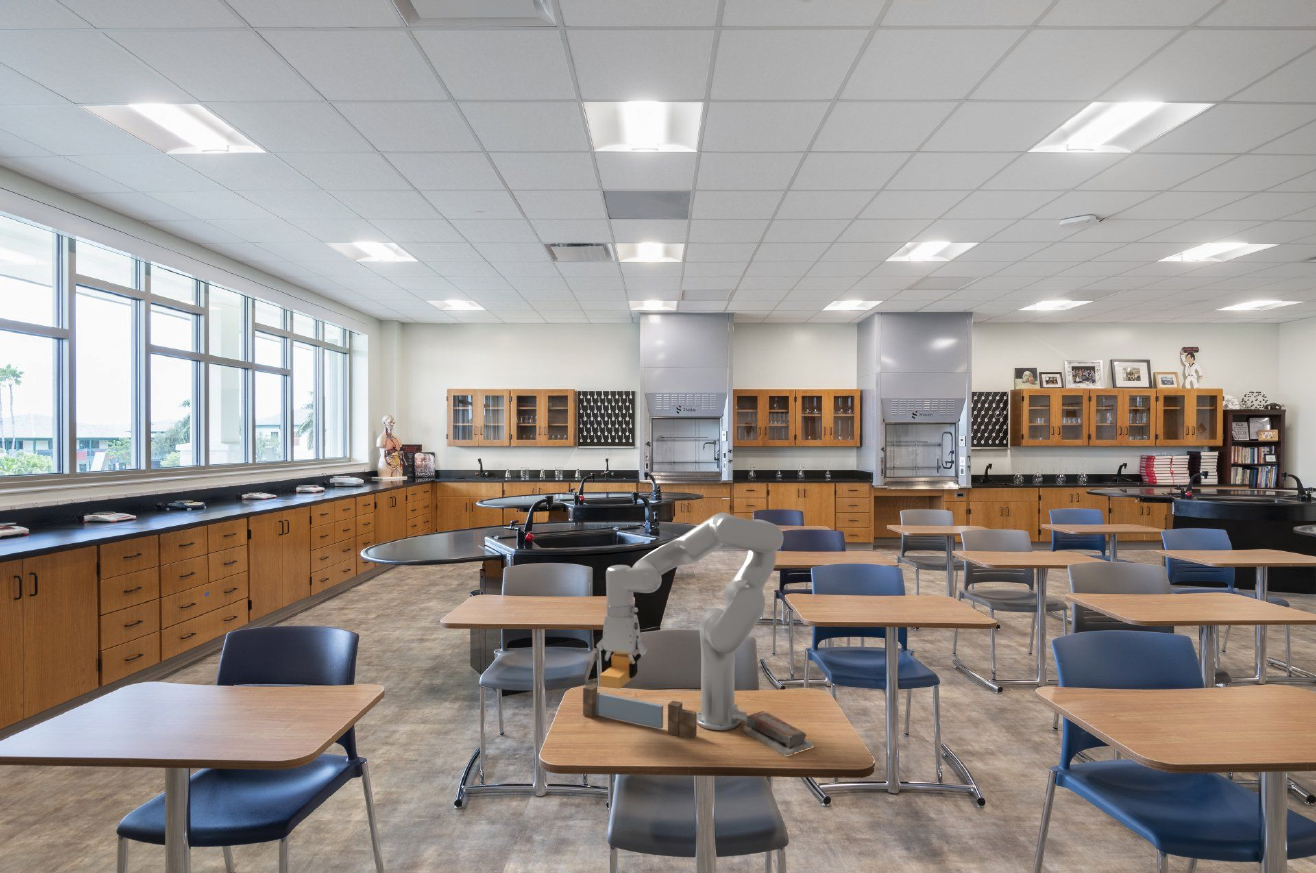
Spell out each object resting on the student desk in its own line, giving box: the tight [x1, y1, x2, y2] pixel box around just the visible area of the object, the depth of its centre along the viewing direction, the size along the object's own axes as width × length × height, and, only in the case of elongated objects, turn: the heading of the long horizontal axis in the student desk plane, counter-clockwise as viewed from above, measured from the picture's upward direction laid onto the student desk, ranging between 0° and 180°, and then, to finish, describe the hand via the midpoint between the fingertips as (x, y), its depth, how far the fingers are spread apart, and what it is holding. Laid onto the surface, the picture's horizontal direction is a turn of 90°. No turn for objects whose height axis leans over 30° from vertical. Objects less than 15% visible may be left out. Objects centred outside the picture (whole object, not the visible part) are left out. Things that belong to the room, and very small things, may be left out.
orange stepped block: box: [598, 652, 635, 690], centre depth 174 cm, size 11×6×6 cm, turn 156°
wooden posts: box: [582, 684, 698, 739], centre depth 178 cm, size 35×3×8 cm, turn 64°
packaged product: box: [742, 710, 816, 755], centre depth 169 cm, size 18×5×10 cm
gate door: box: [595, 692, 664, 729], centre depth 179 cm, size 21×1×6 cm, turn 64°
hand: (622, 674), depth 176 cm, fingers closed on orange stepped block, 6 cm apart
